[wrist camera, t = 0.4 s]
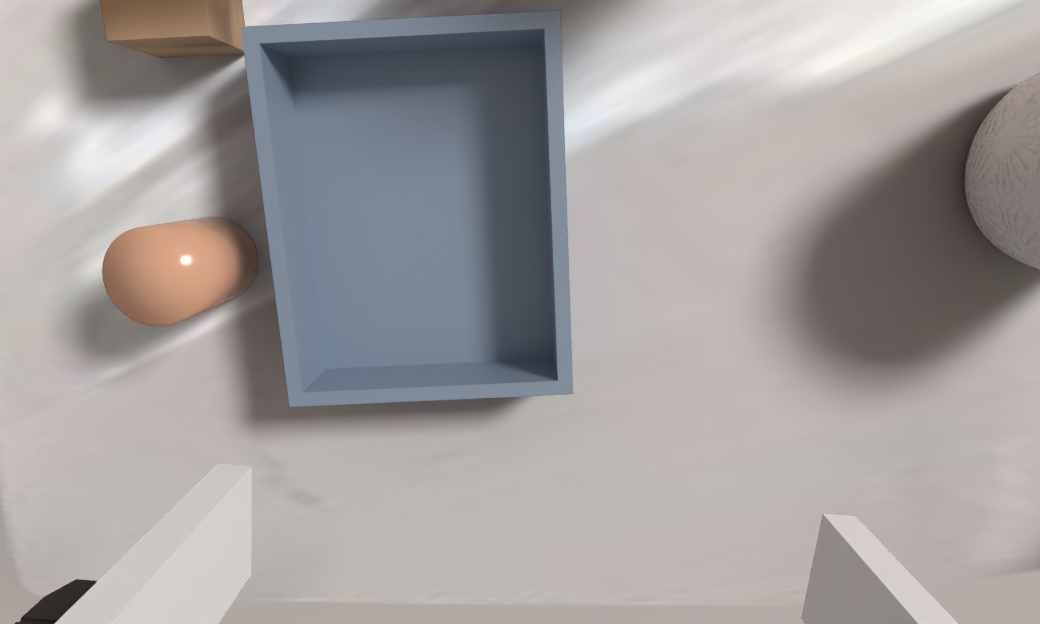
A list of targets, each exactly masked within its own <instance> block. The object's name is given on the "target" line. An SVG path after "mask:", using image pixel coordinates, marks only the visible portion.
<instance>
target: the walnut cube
mask: <svg viewBox="0 0 1040 624" xmlns="http://www.w3.org/2000/svg"><path fill="white" fill-rule="evenodd" d="M100 1H101V7H102V13H103V19H104V25H105V31H106V37H107V41H109V42H112V43H116V44H119V45H122V46H125V47H128V48H132V49H135V50H138V51H141V52H144V53H148V54H151V55H154V56H157V57H160V58H161V57H180V56H199V55H218V54H238V53H244V49H243V41H242V33H241V27H245V22H244V14H243V6H242V0H100Z"/></svg>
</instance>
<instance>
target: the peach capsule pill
mask: <svg viewBox="0 0 1040 624" xmlns="http://www.w3.org/2000/svg"><path fill="white" fill-rule="evenodd" d="M257 268H258V256H257V251H256V248H255V245H254V243H253V241H252V240H251V238H250V236H249V235H248V234H247V233H246V232H245V231H244V230H243V229H242V228H241V227H240V226H238V225H237V224H236V223H234V222H232V221H230V220H227V219H224V218H220V217H204V218H197V219H191V220H184V221H178V222H171V223H165V224H158V225H151V226H145V227H138V228H134V229H131V230H129V231H126V232H124V233H123V234H121V235H120V236H118V237H117V238H116V239H115V240H114V241H113V242H112V243H111V245H110V246H109V248H108V250H107V252H106V254H105V257H104V260H103V268H102V274H103V281H104V285H105V288H106V291H107V293H108V295H109V297H110V298H111V300H112V301H113V303H114V304H115V305H116V306H117V308H118V309H119V310H120V311H122V312H123V313H124V314H125V315H127V316H128V317H129V318H131V319H133V320H135V321H137V322H140V323H142V324H146V325H151V326H166V325H171V324H174V323H177V322H179V321H182V320H184V319H186V318H188V317H191V316H193V315H195V314H197V313H200V312H202V311H204V310H206V309H209V308H211V307H213V306H215V305H218V304H220V303H222V302H224V301H226V300H229V299H231V298H233V297H235V296H238V295H239V294H241V293H243V292H244V291H245V290H246V289H247V288H248V287H249V286H250V285H251V283H252V282H253V280H254V278H255V275H256V273H257Z"/></svg>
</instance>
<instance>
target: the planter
mask: <svg viewBox="0 0 1040 624" xmlns="http://www.w3.org/2000/svg"><path fill="white" fill-rule="evenodd" d="M965 191H966V198H967V203H968V206H969V209H970V212H971V214H972V216H973V219H974V221H975V222H976V224H977V226H978V227H979V229H980V230H981V231H982V233H983V234H984V235H985V236H986V238H987V239H988V240H989V241H990V242H991V243H992V244H993V245H995V246H996V247H997V248H998V249H1000V250H1001V251H1002V252H1004V253H1005V254H1007V255H1009V256H1011V257H1012V258H1014V259H1016V260H1018V261H1020V262H1022V263H1024V264H1027V265H1029V266H1032V267H1034V268H1037V269H1039V270H1040V72H1039V73H1037V74H1035V75H1034V76H1032V77H1030V78H1028V79H1027V80H1025V81H1023V82H1022V83H1021V84H1019V85H1018V86H1016V87H1015V88H1014V89H1012V90H1011V91H1010V92H1009V93H1008V94H1007V95H1005V96H1004V97H1003V98H1002V99H1001V100H1000V101H999V102H998V103H997V104H996V105H995V107H994V108H993V109H992V110H991V111H990V113H989V114H988V115H987V116H986V118H985V119H984V121H983V122H982V124H981V126H980V127H979V129H978V131H977V133H976V135H975V137H974V140H973V142H972V144H971V147H970V150H969V154H968V158H967V163H966V170H965Z"/></svg>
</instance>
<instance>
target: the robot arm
mask: <svg viewBox="0 0 1040 624" xmlns="http://www.w3.org/2000/svg"><path fill="white" fill-rule="evenodd" d="M250 575H251V466H241V465H228V464H217V465H216V466H215V467H214V468H213V469H212V470H211V471H209V472H208V473H207V474H206V475H205V476H204V477H203V478H202V479H201V480H200V481H199V482H198V483H197V484H196V485H195V486H194V487H193V488H192V489H191V490H190V491H189V492H188V493H187V494H186V495H185V496H184V497H183V498H182V499H181V500H180V501H179V502H178V503H177V504H176V505H175V506H174V507H173V508H172V509H171V510H170V511H169V512H168V513H167V514H166V515H165V516H164V517H163V518H162V519H161V520H160V521H159V522H158V523H156V524H155V525H154V526H153V527H152V528H151V529H150V530H149V531H148V532H147V533H146V534H145V535H144V536H143V537H142V538H141V539H140V540H139V541H138V542H137V543H136V544H135V545H134V546H133V547H132V548H131V549H130V550H129V551H128V552H127V553H126V554H125V555H124V556H123V557H122V558H121V559H120V560H119V561H118V562H117V563H116V564H115V565H114V566H113V567H112V568H111V569H110V570H109V571H108V572H107V573H106V574H104V575H103V576H102V577H101V578H100V579H99V580H98V581H91V580H78V579H76V580H74V581H72V582H71V583H69V584H67V585H65V586H63V587H61V588H60V589H58V590H56V591H54V592H52V593H50V594H49V595H47V596H45V597H44V598H43V599H41V600H40V602H38V603H37V604H36V605H35V606H34V607H33V608H31V609H30V610H29V611H28V612H27V613H26V614H25V615H24V616H23V617H22V618H21V621H20V622H16V623H15V624H219V622H220V621H221V619H222V618H223V616H224V615H225V613H226V611H227V610H228V609H229V607H230V606H231V604H232V603H233V601H234V600H235V598H236V596H237V595H238V593H239V592H240V590H241V589H242V587H243V586H244V584H245V583H246V581H247V580H248V578H249V577H250ZM801 619H802V620H803V622H804V623H805V624H958V623H957V622H956V621H955V620H954V619H953V618H952V617H951V616H950V615H949V614H948V613H947V612H946V611H945V610H944V609H943V608H942V606H941V605H940V604H939V603H938V602H937V601H936V600H935V599H934V598H933V597H932V596H931V595H930V594H929V593H928V592H927V591H926V590H925V589H924V588H923V587H922V585H921V584H920V583H919V582H918V581H917V580H916V579H915V578H914V577H913V576H912V575H911V574H910V573H909V572H908V571H907V570H906V569H905V568H904V567H903V566H902V565H901V563H900V562H899V561H898V560H897V559H896V558H895V557H894V556H893V555H892V554H891V553H890V552H889V551H888V550H887V549H886V548H885V547H884V546H883V545H882V544H881V543H880V541H879V540H878V539H877V538H876V537H875V536H874V535H873V534H872V533H871V532H870V531H869V530H868V529H867V528H866V527H865V526H864V525H863V524H862V523H861V522H860V521H859V519H858V518H857V517H856V516H845V515H833V514H823V515H822V520H821V525H820V530H819V534H818V539H817V544H816V549H815V554H814V559H813V564H812V568H811V573H810V578H809V583H808V588H807V593H806V598H805V602H804V607H803V612H802V617H801Z"/></svg>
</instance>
